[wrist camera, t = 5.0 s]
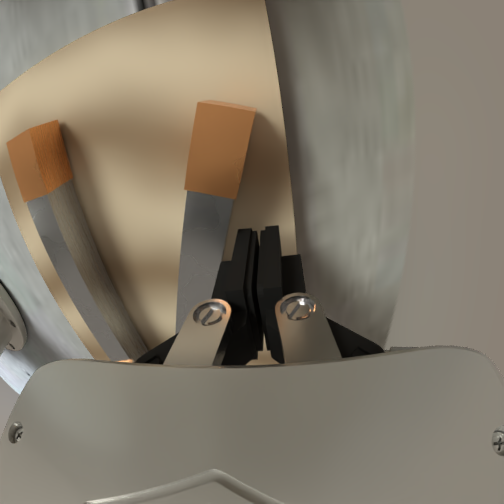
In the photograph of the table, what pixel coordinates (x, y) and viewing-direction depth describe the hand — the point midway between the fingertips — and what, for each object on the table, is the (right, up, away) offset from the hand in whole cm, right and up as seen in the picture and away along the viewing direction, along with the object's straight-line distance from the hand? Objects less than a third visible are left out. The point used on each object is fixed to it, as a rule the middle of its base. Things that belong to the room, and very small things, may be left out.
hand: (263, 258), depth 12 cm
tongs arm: (-4, -2, +3) cm, 5 cm away
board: (-6, -1, +4) cm, 7 cm away
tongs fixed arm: (-9, -1, +2) cm, 9 cm away
